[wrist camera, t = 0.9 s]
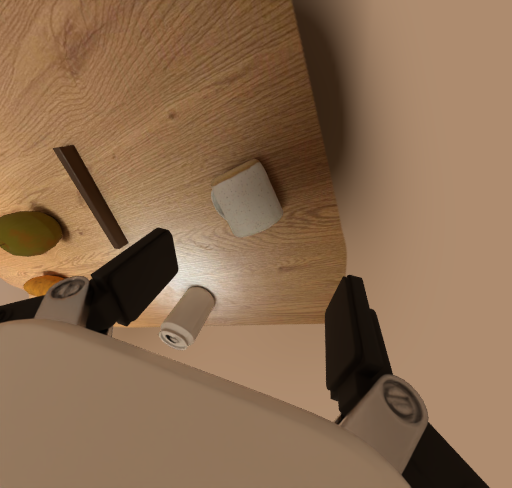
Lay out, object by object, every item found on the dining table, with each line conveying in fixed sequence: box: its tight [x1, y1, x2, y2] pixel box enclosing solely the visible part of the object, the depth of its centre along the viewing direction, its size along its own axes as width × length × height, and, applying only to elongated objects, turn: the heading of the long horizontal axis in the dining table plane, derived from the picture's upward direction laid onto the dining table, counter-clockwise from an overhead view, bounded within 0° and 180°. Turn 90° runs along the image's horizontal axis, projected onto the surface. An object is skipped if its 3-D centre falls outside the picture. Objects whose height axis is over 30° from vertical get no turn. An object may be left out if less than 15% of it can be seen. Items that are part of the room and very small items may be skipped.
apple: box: [0, 211, 62, 257], centre depth 43 cm, size 10×10×11 cm
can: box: [159, 287, 215, 350], centre depth 43 cm, size 8×8×12 cm
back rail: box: [53, 145, 128, 249], centre depth 38 cm, size 3×20×2 cm, turn 7°
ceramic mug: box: [211, 159, 283, 237], centre depth 26 cm, size 11×8×8 cm
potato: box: [24, 275, 64, 297], centre depth 61 cm, size 7×14×7 cm, turn 94°
